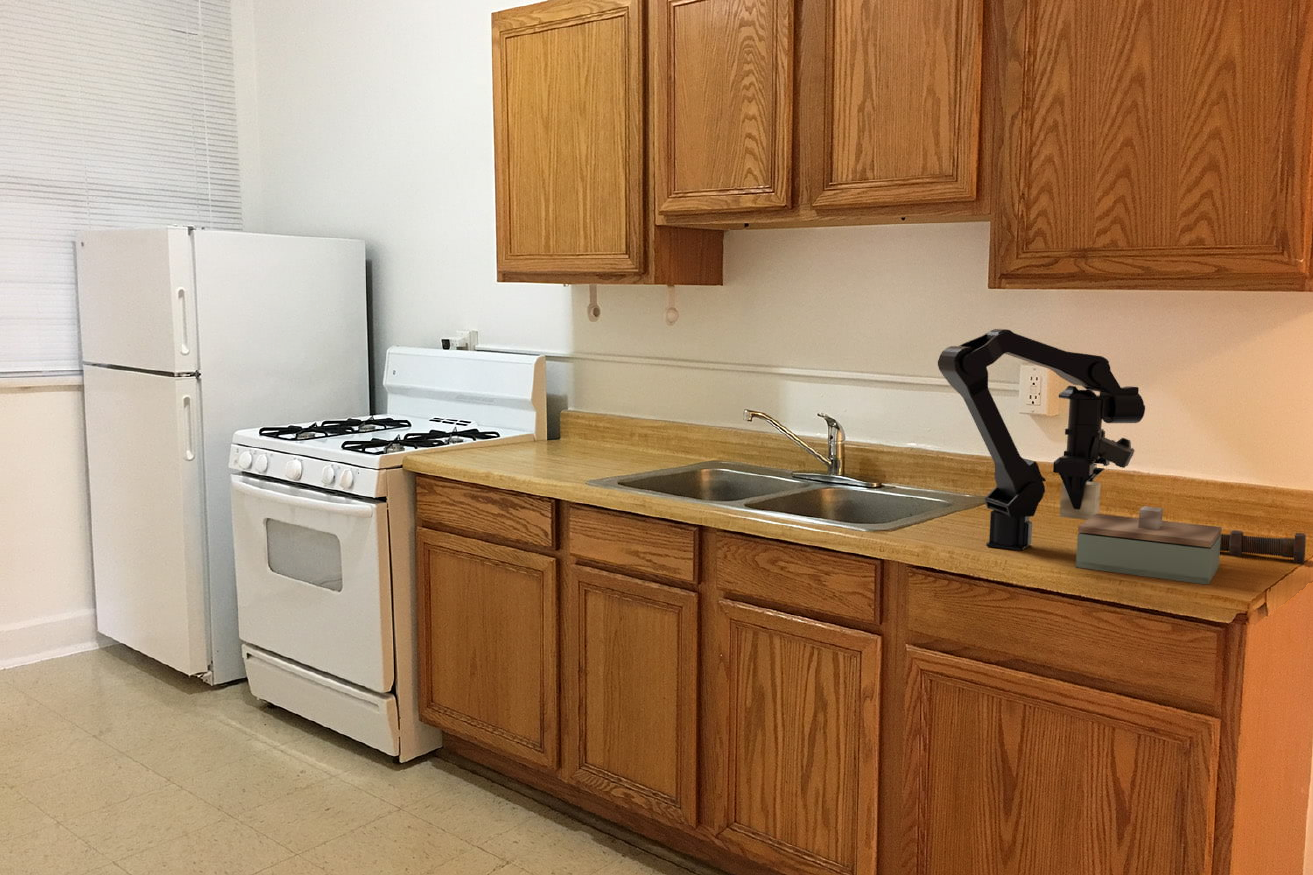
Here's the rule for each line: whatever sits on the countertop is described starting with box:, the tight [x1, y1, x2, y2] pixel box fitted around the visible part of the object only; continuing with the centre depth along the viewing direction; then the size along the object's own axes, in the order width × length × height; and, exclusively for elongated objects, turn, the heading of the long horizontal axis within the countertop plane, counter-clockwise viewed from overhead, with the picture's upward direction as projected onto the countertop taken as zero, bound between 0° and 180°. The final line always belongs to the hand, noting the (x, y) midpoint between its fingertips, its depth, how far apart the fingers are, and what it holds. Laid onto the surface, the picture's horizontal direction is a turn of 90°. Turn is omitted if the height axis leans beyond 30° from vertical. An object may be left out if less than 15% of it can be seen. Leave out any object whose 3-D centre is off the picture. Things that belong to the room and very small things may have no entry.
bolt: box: [1220, 529, 1307, 565], centre depth 192 cm, size 6×5×15 cm
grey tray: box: [1075, 532, 1221, 585], centre depth 185 cm, size 20×20×6 cm
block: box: [1059, 481, 1102, 521], centre depth 200 cm, size 6×4×6 cm, turn 57°
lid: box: [1077, 505, 1223, 547], centre depth 182 cm, size 20×14×4 cm
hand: (1079, 507), depth 200 cm, fingers closed on block, 4 cm apart
